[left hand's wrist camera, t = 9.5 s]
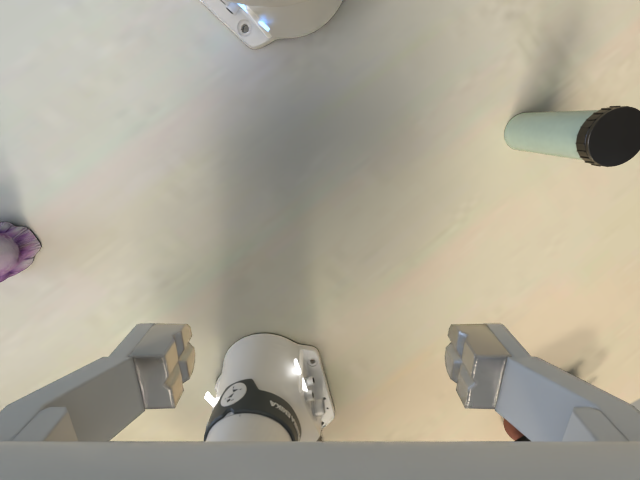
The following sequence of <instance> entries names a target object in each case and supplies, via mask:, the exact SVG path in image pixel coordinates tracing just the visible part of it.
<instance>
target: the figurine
mask: <svg viewBox="0 0 640 480" xmlns="http://www.w3.org/2000/svg"><path fill="white" fill-rule="evenodd" d="M40 248H41V246H40V243H39V241H38V240H37V238H36V237H35V236H34V235H33V233H32V232H31V231H30V230H29V229H27V228H26V227H20V226H19V227H17V226H15V225H13V224H12V223H8V222H0V282H2V281H4V280H5V279H7V278H8V277H10V276H13V275H15V274H17V273H19V272H21V271H23V270H24V269H26V268H27V267H28V266H30V265H31V264H32V262H33V259H34V255H36V253H37V252H38V251H39V250H40Z"/></svg>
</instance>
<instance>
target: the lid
mask: <svg viewBox="0 0 640 480" xmlns="http://www.w3.org/2000/svg"><path fill="white" fill-rule="evenodd" d="M575 144H576V148H577V152H578V154H579V156H580V158H582V159H583V160H584V161H585V163H590V164H591V165H595V166H605V167H611V166H617V165H620V164H623V163H625V162H627V161H628V160H630V159H631V158H632V157H634V156H635V155H636V154H637V153H638V152H639V150H640V111H639V110H638V109H636V108H633V107H629V106H623V107H620V106H610V107H609V108H601V110H599V111H597V112H594V113H593V114H592V115H591V116H590V117H589V118H588V119H586V121H585V122H584V123H583V124H582V126H581V127H580V130H579V132H578V135H577V138H576V143H575Z"/></svg>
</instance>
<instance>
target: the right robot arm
mask: <svg viewBox="0 0 640 480" xmlns="http://www.w3.org/2000/svg"><path fill="white" fill-rule="evenodd" d="M199 1H200V2H201V3H202V4H203V5H205V6H206V7H207V8H208V9H209V10H210V11H211V12H212V13H213V14H214V15H215V16H216V17H217V18H218V19H219V20H220V21H221V22H222V23H223V24H224V25H226V26H227V27H228V28H229V29H230V30H231V31H232V32H233V33H234V34H235V35H236V36H237V37H238V38H239V39H240V40H241V41H242V42H243V43H244V44H245V45H247V46H248V47H249V48H251V49H259V48H262V47H264V46H266V45H268V44H269V43H271V42H273V41H274V40H278V39H287V38H298V37H302V36H306V35H308V34H311V33H313V32H315V31H316V30H318V29H320V28H321V27H322V26H324V25H325V24H326V23H327V22H328V21H329V20H330V19H331V18H332V17H333V16H334V14H335V13H336V12H337V10H338V9H339V7H340V5H341V3H342V1H343V0H199ZM244 26H248V27H249V30H248V32H247V33H244V32H243V27H244Z"/></svg>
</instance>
